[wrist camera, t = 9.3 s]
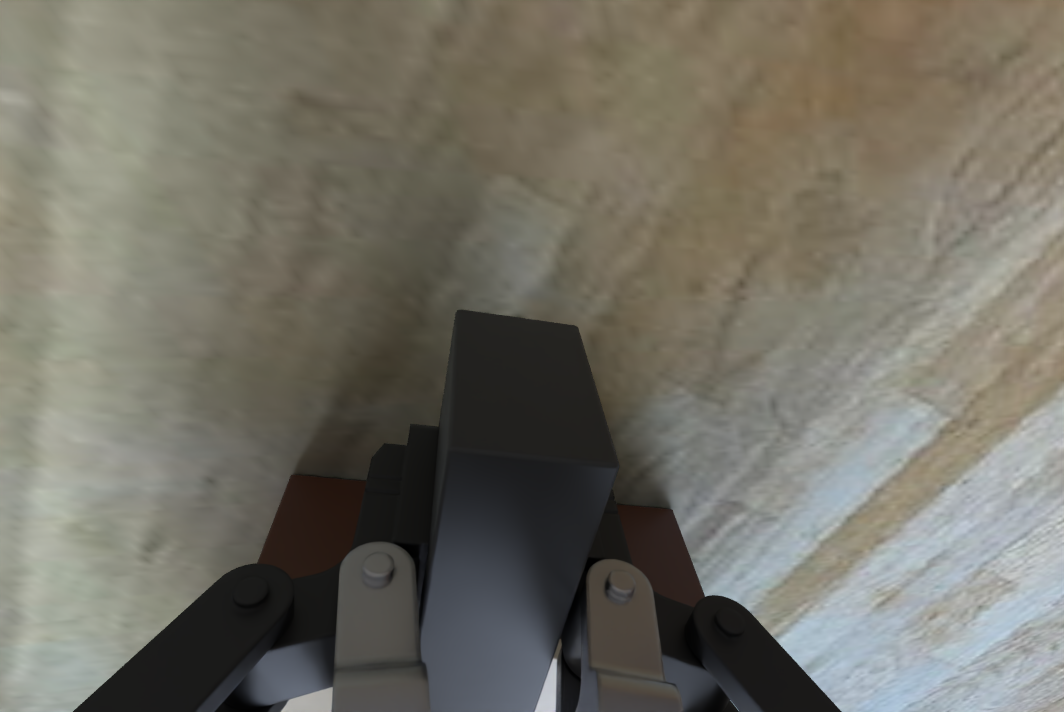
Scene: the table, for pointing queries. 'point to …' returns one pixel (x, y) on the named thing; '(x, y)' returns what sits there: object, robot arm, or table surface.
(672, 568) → the cake
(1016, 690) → the table surface
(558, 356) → the knife
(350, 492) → the cake slice
